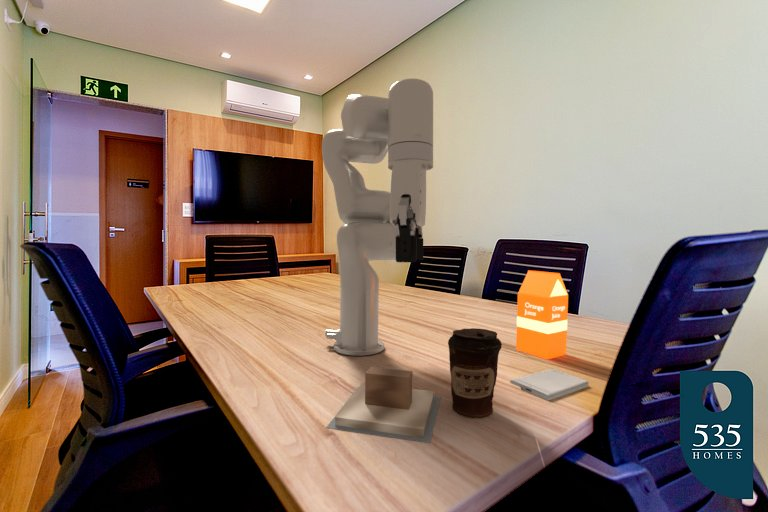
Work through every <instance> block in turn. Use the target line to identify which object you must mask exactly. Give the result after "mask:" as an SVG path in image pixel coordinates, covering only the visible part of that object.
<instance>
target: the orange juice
mask: <svg viewBox="0 0 768 512" xmlns="http://www.w3.org/2000/svg"><path fill="white" fill-rule="evenodd" d="M568 308H569V293H568V290H567V289H566V286H565V283H564V280H563V278H562V276H561V272H551V271H550V272H549V271H540V270H529V269H528V270H527V273H526V275H525V277H524V279H523V281H522V283H521V286H520V288H519V291H518V292H517V307H516V309H517V311H516V312H517V313H516V339H515V340H516V343H515V345H516V346H515V349H516V350H517V351H520V352H521V353H525V354H529V355H532V356H535V357H538V358H542V359H544V360H550V359H555V358H558V357H562V356H565V355H567V341H568V340H567V338H568V337H567V335H568V320H569V319H568V311H569V309H568Z"/></svg>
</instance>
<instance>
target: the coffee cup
mask: <svg viewBox="0 0 768 512" xmlns="http://www.w3.org/2000/svg"><path fill="white" fill-rule="evenodd" d="M497 335H498V333H497V332H496V331H494V330H489V329H486V328H476V327H474V328H473V327H472V328H461V329H456V330H454V329H453V330H452V335H451V336H450V337H449V339H448V341H447V345H448V351H449V355H448V357H449V372H450V393H451V398H452V399H451V401H452V410H453V412H455V414H457V415H459V416H461V417H465V418H469V419H478V420H480V419H485V418H489V417H490V416H493V415H494V407H493V406H494V405H493V399H494V396H495V395H494V393H495V386H496V382H497V377H498V366H499V365H498V362H499V361H498V360H499V354H500V351H501V349H502V347H503V346H502V345H503V344H502V341H501V340H500V339H499V338H498V336H497Z"/></svg>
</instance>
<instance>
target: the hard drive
mask: <svg viewBox="0 0 768 512" xmlns="http://www.w3.org/2000/svg"><path fill="white" fill-rule="evenodd" d="M509 384H512V385H515V386H517V387H519V388H520V390H521V391H524V392H527V393H528V394H531V395H533V396H536V397H539V398H541V399H543V400H545V401H548V402H549V401H551V400H554V399H557V398H560V397H563V396H566V395H569V394H571V393H574V392H577V391H579V390H583V389H585V388H588V387H589V381H588V380H587V379H584V378H581V377H577V376H575V375H572V374H569V373H565V372H564V371H560V370H557V369H553V368H549V369H545V370H542V371H537V372H534V373H531V374H528V375H524V376H521V377H517V378H514V379H511V380H510V381H509Z"/></svg>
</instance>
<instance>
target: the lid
mask: <svg viewBox="0 0 768 512" xmlns="http://www.w3.org/2000/svg"><path fill="white" fill-rule="evenodd" d="M364 374H365V381H364V383H362V382H361V384H360V385H359V386H358V387H359V388H358V387H357V388H358V389H357V388H356V389H357V390H356V389H355V391H354V392H355V393H354V392H353V393H354V394H353V393H352V394H353V395H350V397H351V398H350V397H349V398H350V399H349V398H348V399H349V400H348V399H347V401H348V402H347V401H346V402H347V403H346V402H345V403H346V404H345V403H344V404H345V405H343V406H344V407H343V406H342V407H343V408H342V407H341V408H342V409H341V408H340V409H341V410H340V409H339V411H340V412H339V411H338V412H339V413H338V412H337V413H338V414H337V413H336V414H337V415H336V414H335V416H336V417H335V416H334V417H335V425H338V426H345V427H352V428H359V429H366V430H373V431H380V432H387V433H394V434H400V435H407V436H414V437H421V438H424V434H425V431H426V427H427V423H428V419H429V416H430V412H431V408H432V404H433V401H434V396H435V391H434V390H426V389H418V388H413V371H412V370H402V369H391V368H382V367H372V366H370V367H369V368H368V369H367V370H366V372H365V373H364Z"/></svg>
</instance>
